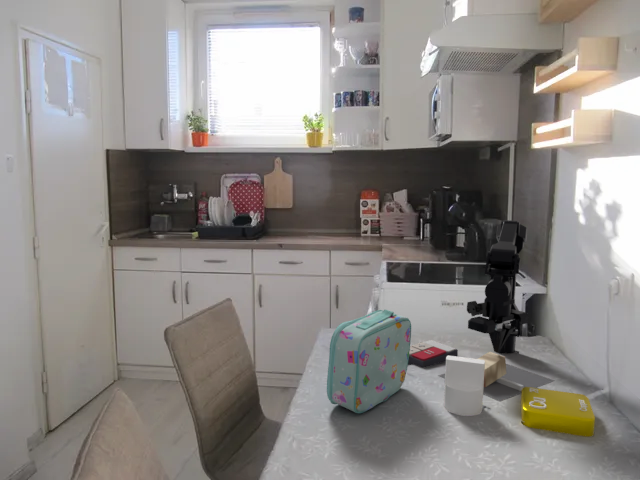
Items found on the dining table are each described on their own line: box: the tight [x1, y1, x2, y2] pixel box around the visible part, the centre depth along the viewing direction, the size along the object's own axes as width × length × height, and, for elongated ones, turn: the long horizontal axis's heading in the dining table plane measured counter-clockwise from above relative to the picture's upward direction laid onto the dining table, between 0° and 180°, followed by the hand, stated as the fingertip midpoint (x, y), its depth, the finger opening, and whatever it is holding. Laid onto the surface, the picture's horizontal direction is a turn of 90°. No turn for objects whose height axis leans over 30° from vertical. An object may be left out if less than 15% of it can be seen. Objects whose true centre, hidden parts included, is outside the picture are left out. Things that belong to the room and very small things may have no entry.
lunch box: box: [326, 309, 412, 414], centre depth 138 cm, size 27×10×21 cm, turn 144°
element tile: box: [520, 387, 596, 438], centre depth 130 cm, size 15×15×5 cm
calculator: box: [408, 339, 459, 368], centre depth 167 cm, size 11×4×15 cm
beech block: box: [477, 351, 507, 387], centre depth 149 cm, size 5×5×9 cm
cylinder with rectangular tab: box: [443, 355, 485, 417], centre depth 134 cm, size 9×9×12 cm
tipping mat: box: [437, 363, 556, 402], centre depth 152 cm, size 24×20×2 cm
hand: (496, 351), depth 150 cm, fingers closed
